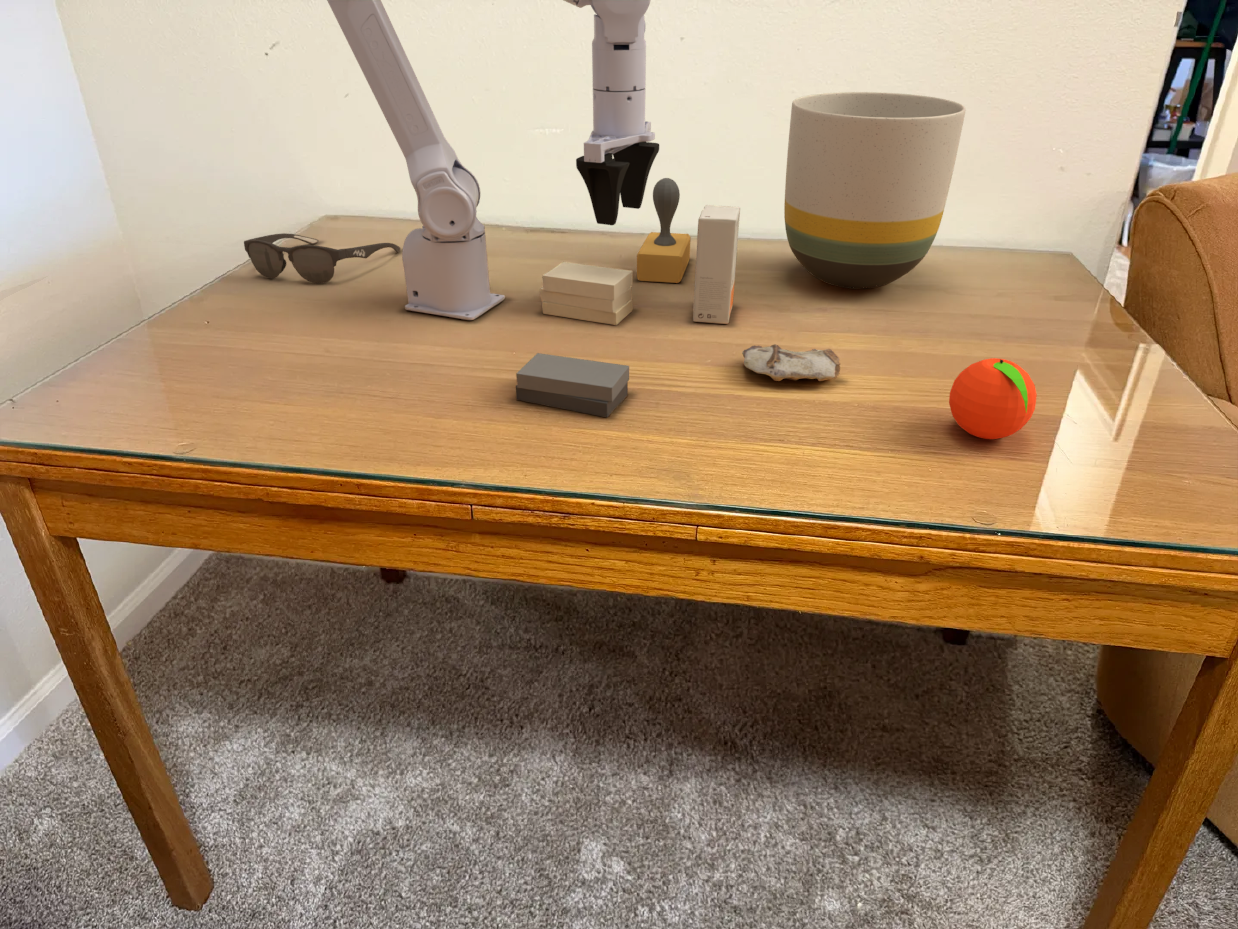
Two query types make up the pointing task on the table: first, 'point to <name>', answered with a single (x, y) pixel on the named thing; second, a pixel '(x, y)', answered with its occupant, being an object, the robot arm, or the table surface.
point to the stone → (792, 363)
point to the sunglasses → (303, 256)
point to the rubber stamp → (664, 240)
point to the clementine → (992, 398)
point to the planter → (867, 182)
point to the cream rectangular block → (587, 280)
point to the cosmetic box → (715, 263)
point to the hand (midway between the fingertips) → (619, 215)
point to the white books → (587, 306)
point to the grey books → (573, 384)
